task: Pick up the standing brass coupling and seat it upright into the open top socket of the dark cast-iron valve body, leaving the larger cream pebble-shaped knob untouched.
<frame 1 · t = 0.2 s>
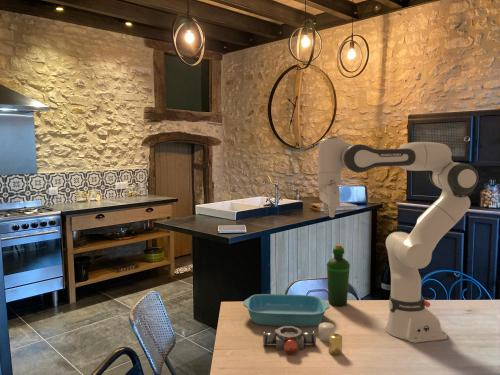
hand: (328, 215, 154), 47 cm above the table, fingers open, 8 cm apart
valve body: (289, 344, 149), on the table
cream pebble-shaped knob: (326, 338, 154), on the table
bottle: (337, 303, 189), on the table
casserole dish: (285, 318, 173), on the table
brass coupling: (335, 352, 143), on the table
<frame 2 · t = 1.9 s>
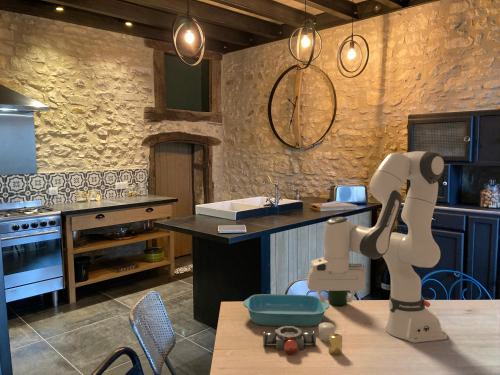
hand: (335, 301, 141), 19 cm above the table, fingers open, 8 cm apart
nothing on the table moved.
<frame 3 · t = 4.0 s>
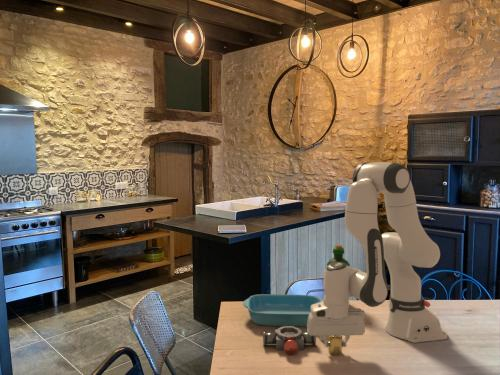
hand: (335, 346, 143), 2 cm above the table, fingers closed on brass coupling, 5 cm apart
brass coupling: (335, 352, 143), on the table, touching gripper
everything else where it was.
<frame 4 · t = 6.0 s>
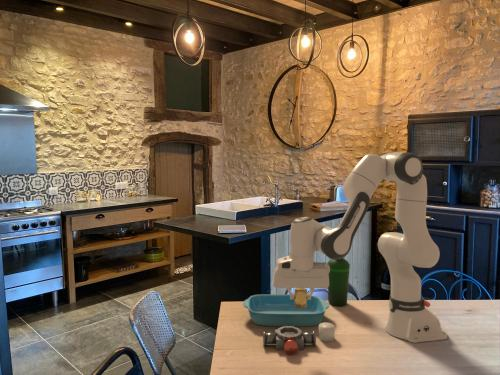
hand: (300, 299, 145), 18 cm above the table, fingers closed on brass coupling, 5 cm apart
brass coupling: (300, 305, 145), point 16 cm above the table, touching gripper
everything else where it was.
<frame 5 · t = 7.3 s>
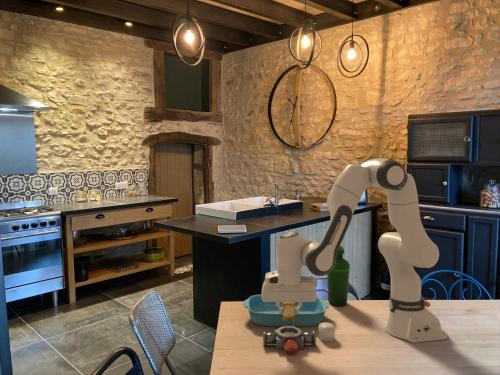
hand: (288, 312, 148), 12 cm above the table, fingers closed on brass coupling, 5 cm apart
brass coupling: (288, 319, 148), point 10 cm above the table, touching gripper
everything else where it was.
when the fingers open (8 cm above the table, at t = 8.4 s): brass coupling drops 2 cm, resting on valve body.
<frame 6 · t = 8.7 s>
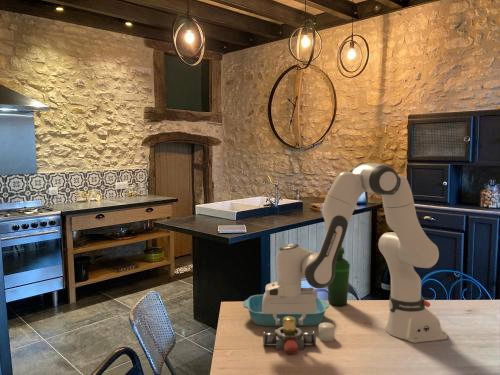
hand: (289, 324, 148), 8 cm above the table, fingers open, 7 cm apart
brass coupling: (289, 334, 149), point 4 cm above the table, touching valve body
everything else where it was.
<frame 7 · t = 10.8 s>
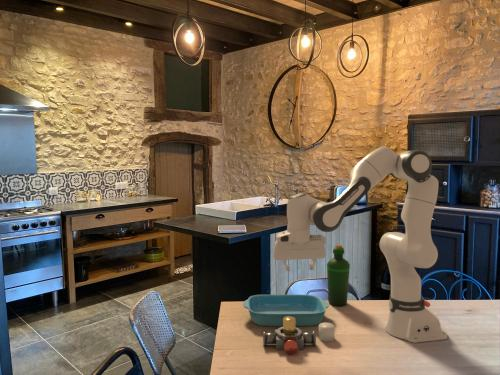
hand: (299, 269, 157), 26 cm above the table, fingers open, 8 cm apart
nothing on the table moved.
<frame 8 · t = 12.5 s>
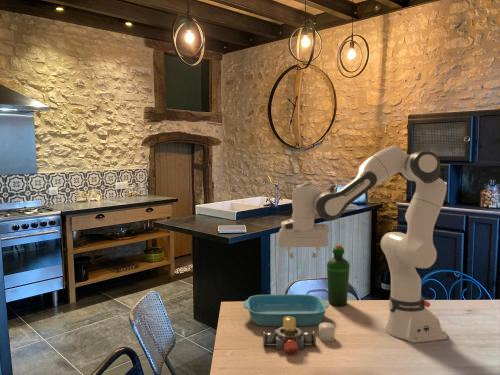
hand: (302, 257, 161), 29 cm above the table, fingers open, 8 cm apart
nothing on the table moved.
at the end: brass coupling 0.1 cm off-centre on the valve body, point 4.0 cm above the valve body's base; brass coupling tilted 0°; the gripper is holding nothing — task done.
